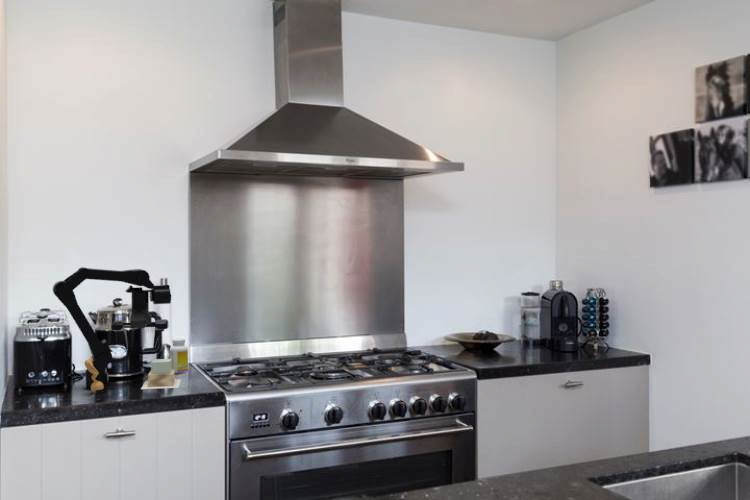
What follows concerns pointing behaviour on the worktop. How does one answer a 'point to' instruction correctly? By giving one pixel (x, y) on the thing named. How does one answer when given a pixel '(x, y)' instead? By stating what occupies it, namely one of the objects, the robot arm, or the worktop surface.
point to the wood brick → (161, 379)
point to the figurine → (93, 376)
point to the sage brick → (161, 366)
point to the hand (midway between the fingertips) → (140, 349)
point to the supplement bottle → (179, 356)
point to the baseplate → (175, 385)
